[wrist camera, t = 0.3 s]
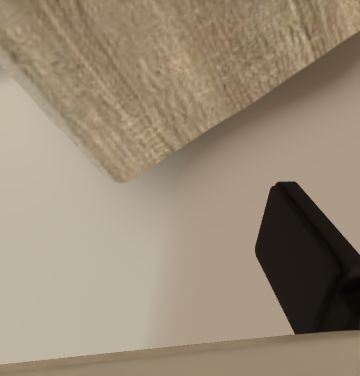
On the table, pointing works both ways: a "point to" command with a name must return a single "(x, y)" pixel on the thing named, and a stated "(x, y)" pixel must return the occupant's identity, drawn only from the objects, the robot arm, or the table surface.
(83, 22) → the table surface
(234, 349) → the robot arm
